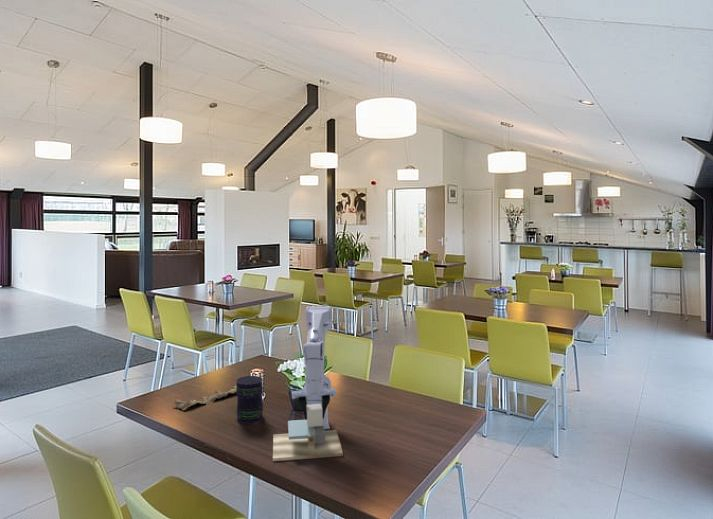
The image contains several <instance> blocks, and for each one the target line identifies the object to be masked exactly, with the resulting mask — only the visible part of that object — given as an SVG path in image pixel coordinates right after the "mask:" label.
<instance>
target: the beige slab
mask: <svg viewBox="0 0 713 519" xmlns="http://www.w3.org/2000/svg"><path fill="white" fill-rule="evenodd" d="M324 432H325V443H320V444H316V443H315V438H314V435H308V438H306V439H292V440H289V434H288V433H278V434H277V433H275V434H274V433H273V434H272V435H273V436H272V437H273V438H272V442H273V443H272V462H281V461H283V462H284V461H295V460H305V459H307V460H309V459H318V458H319V459H320V458H331V457H332V458H333V457H343V456H344V452H343V449H342V444H341V441H340V437H339V435H338V431H337V429H334V430H333V429H332V430H324Z"/></svg>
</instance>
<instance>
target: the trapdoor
mask: <svg viewBox="0 0 713 519" xmlns="http://www.w3.org/2000/svg"><path fill="white" fill-rule="evenodd" d="M287 430H288V432H287V434H289V440H292V439H306V438H308V435H314V438H315V443H316V444H320V443H325V432H324V431H325V429H324V428H323V426H313V427H307V422H306V420H305V419H296V420H288V421H287Z"/></svg>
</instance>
